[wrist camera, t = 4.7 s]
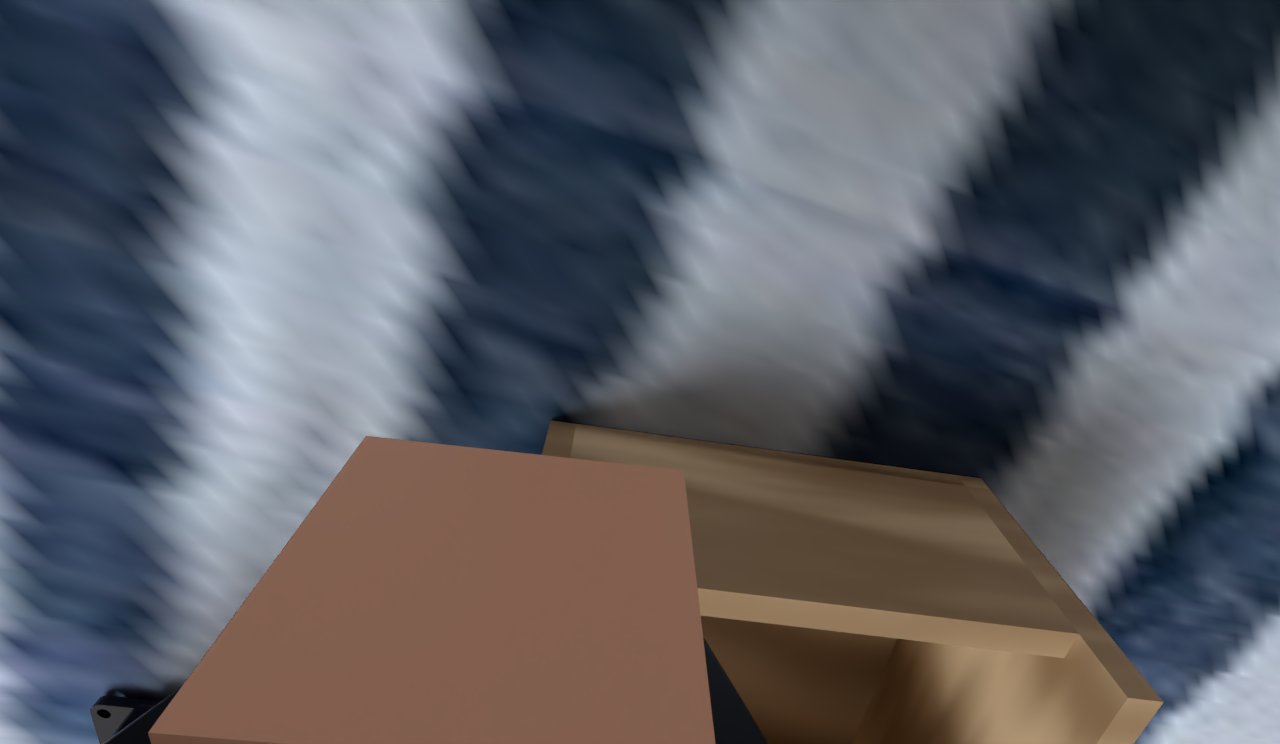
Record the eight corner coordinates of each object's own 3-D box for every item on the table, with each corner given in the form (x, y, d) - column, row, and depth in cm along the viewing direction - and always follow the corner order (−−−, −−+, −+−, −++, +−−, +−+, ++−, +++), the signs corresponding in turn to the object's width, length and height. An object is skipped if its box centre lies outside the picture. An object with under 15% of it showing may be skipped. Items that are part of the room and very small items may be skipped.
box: (854, 756, 27) (935, 1017, 20) (517, 721, 26) (468, 980, 19) (980, 478, 21) (1163, 702, 14) (550, 420, 20) (499, 625, 13)
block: (641, 687, 10) (646, 1039, 6) (377, 665, 10) (226, 1014, 6) (683, 470, 8) (718, 778, 5) (365, 436, 8) (147, 732, 4)
